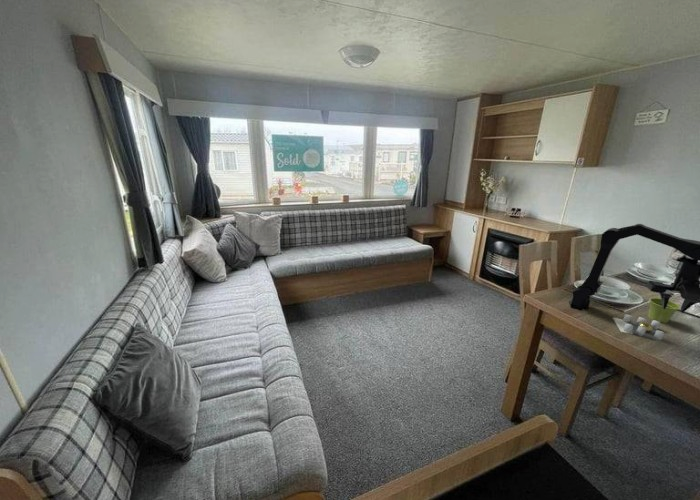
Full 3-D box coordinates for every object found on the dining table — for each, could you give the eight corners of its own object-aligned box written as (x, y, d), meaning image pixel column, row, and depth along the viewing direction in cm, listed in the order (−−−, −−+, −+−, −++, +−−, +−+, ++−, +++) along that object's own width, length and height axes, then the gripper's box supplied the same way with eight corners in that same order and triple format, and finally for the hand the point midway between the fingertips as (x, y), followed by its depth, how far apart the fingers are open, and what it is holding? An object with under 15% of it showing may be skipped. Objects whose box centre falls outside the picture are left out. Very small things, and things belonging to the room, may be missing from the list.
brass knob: (639, 331, 121) (641, 325, 120) (635, 326, 124) (638, 321, 124) (651, 334, 119) (654, 328, 118) (648, 329, 123) (650, 323, 122)
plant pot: (663, 327, 125) (671, 310, 122) (637, 315, 134) (644, 299, 131) (677, 324, 128) (685, 307, 125) (651, 313, 136) (658, 296, 133)
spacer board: (620, 332, 121) (623, 325, 120) (611, 318, 131) (614, 311, 130) (667, 343, 115) (671, 336, 113) (655, 328, 125) (658, 320, 123)
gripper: (665, 277, 108) (649, 313, 113) (738, 289, 99) (717, 327, 105) (653, 267, 117) (638, 300, 122) (719, 277, 109) (701, 312, 114)
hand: (672, 310), depth 116 cm, fingers open, 5 cm apart
